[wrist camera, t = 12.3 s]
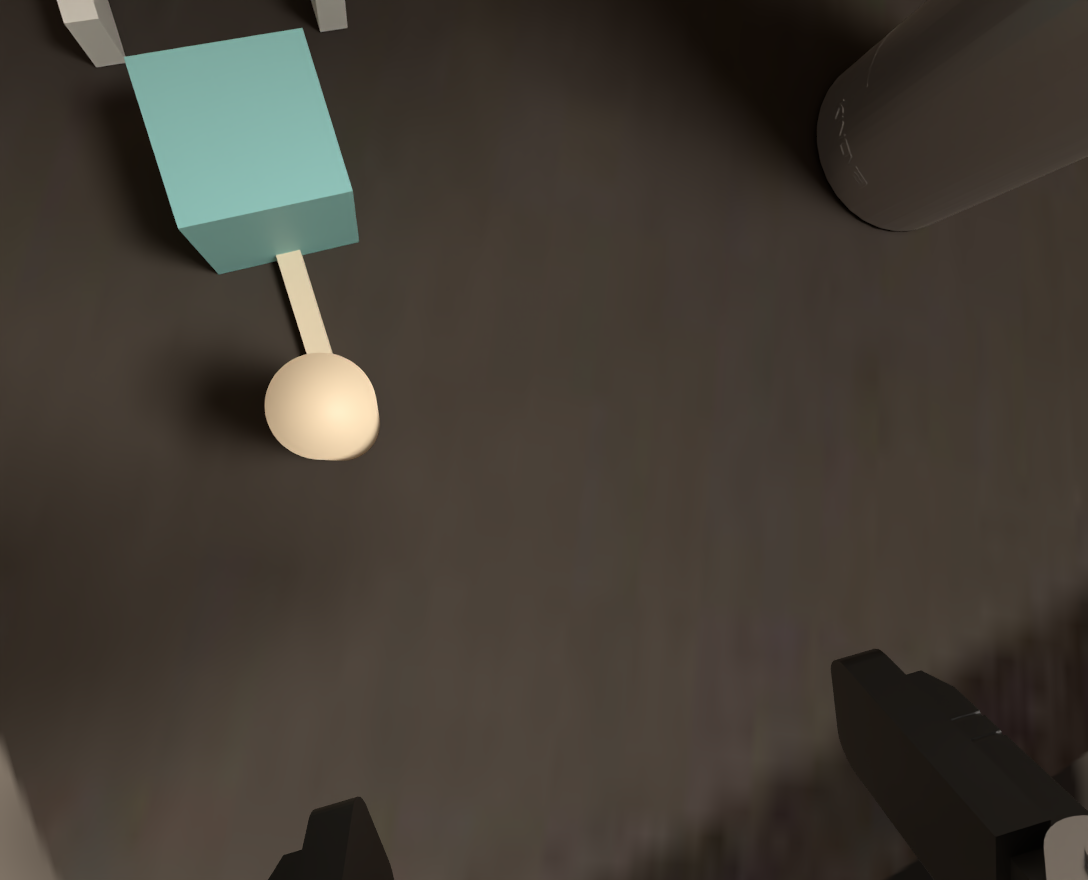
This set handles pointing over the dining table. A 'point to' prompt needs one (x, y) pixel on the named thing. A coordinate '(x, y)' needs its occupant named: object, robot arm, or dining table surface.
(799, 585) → the dining table surface
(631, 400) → the dining table surface
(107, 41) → the cream u-shaped frame
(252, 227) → the tethered block
